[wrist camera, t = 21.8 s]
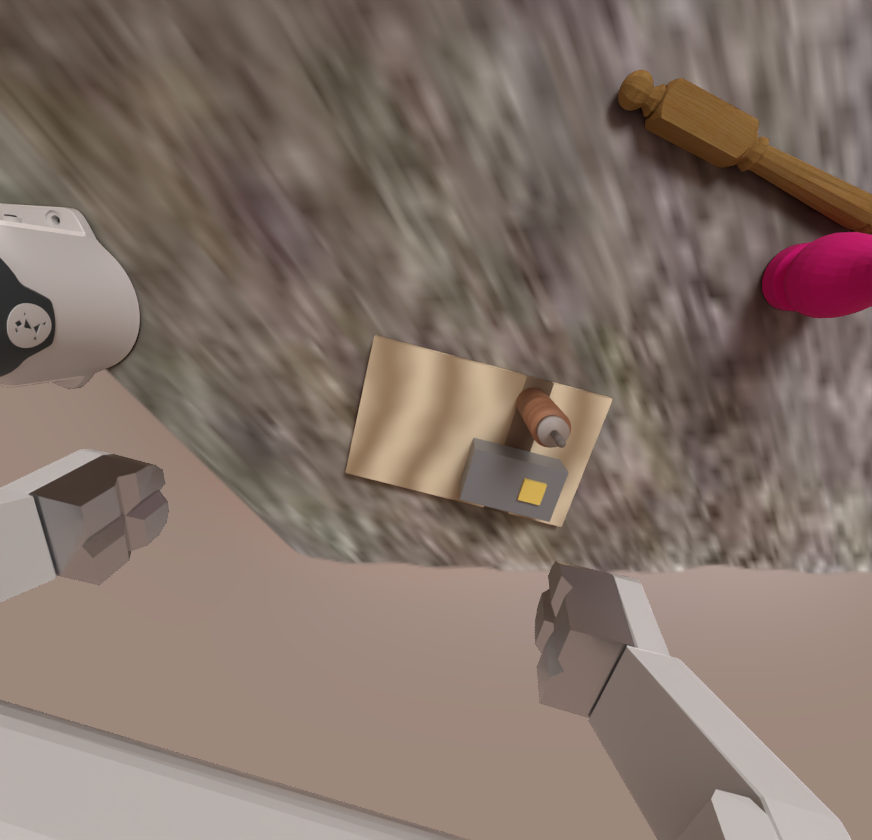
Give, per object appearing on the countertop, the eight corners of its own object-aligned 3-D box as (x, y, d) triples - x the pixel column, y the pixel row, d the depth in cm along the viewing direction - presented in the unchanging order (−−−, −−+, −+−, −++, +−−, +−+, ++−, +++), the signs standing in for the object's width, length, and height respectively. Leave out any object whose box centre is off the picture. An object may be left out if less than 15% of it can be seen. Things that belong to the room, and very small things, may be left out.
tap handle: (909, 251, 38) (619, 95, 35) (876, 253, 41) (606, 110, 38) (934, 216, 37) (639, 54, 34) (899, 222, 40) (624, 73, 37)
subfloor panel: (347, 468, 49) (345, 472, 48) (376, 335, 44) (374, 336, 43) (558, 521, 50) (561, 527, 49) (608, 396, 45) (612, 399, 44)
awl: (512, 413, 45) (534, 458, 33) (521, 383, 44) (548, 419, 32) (542, 421, 45) (575, 469, 33) (552, 391, 44) (591, 430, 32)
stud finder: (459, 485, 48) (460, 501, 44) (473, 437, 46) (475, 450, 42) (542, 506, 48) (550, 523, 44) (560, 459, 46) (569, 474, 43)
